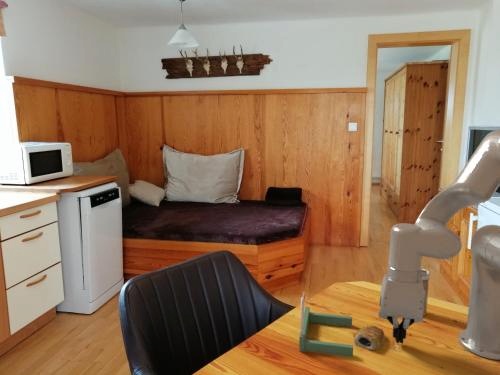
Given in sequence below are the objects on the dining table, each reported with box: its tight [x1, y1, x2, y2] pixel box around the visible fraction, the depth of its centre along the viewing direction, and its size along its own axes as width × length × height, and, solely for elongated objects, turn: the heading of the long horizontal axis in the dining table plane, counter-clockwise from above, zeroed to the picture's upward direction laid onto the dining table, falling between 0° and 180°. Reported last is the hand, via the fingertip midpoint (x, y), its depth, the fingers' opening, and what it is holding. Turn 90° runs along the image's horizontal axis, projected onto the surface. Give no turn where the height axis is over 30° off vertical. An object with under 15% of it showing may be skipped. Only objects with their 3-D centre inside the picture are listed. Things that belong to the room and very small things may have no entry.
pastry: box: [353, 325, 385, 351], centre depth 103 cm, size 9×7×4 cm
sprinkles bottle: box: [421, 268, 430, 317], centre depth 115 cm, size 5×5×14 cm
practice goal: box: [298, 291, 354, 358], centre depth 104 cm, size 13×16×14 cm
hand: (398, 340), depth 100 cm, fingers closed
